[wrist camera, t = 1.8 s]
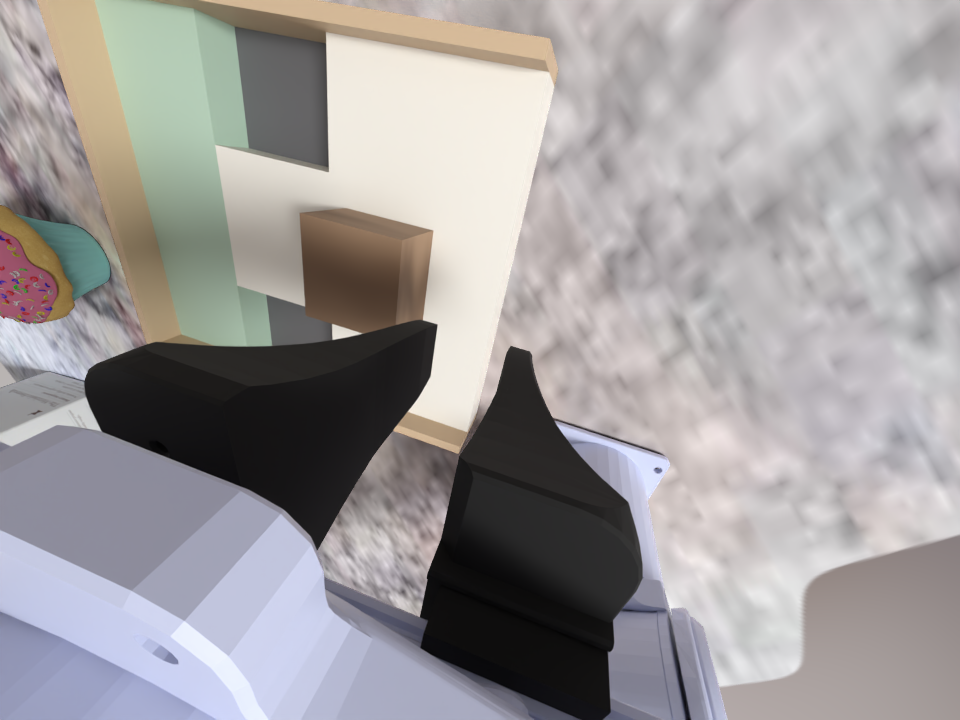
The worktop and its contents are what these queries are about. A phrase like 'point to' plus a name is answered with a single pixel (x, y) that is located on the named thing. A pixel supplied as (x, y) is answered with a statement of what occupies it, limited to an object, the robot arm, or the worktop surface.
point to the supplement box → (42, 407)
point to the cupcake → (45, 267)
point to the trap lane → (305, 163)
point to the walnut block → (363, 269)
